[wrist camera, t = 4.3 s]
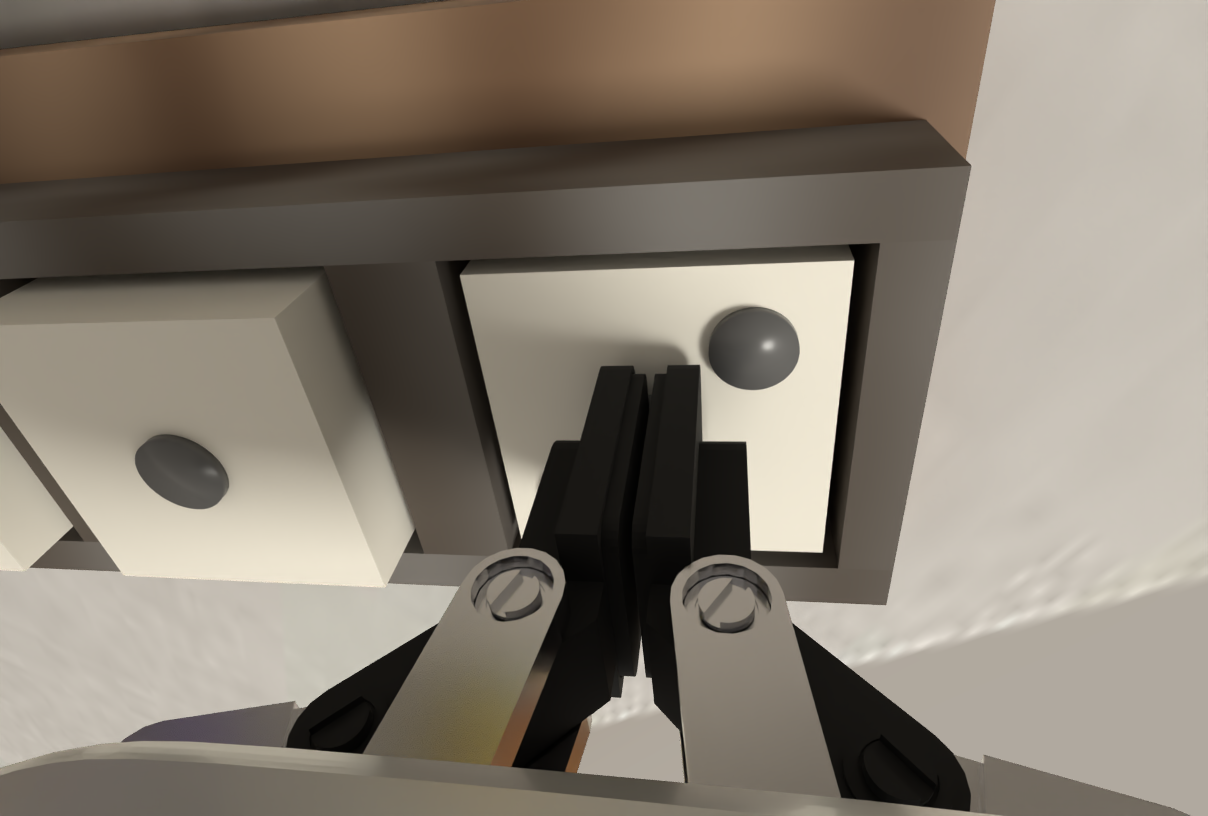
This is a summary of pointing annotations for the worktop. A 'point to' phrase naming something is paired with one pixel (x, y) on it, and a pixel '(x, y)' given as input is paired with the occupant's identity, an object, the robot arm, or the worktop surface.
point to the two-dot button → (25, 512)
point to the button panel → (517, 202)
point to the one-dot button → (207, 423)
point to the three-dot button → (675, 360)
